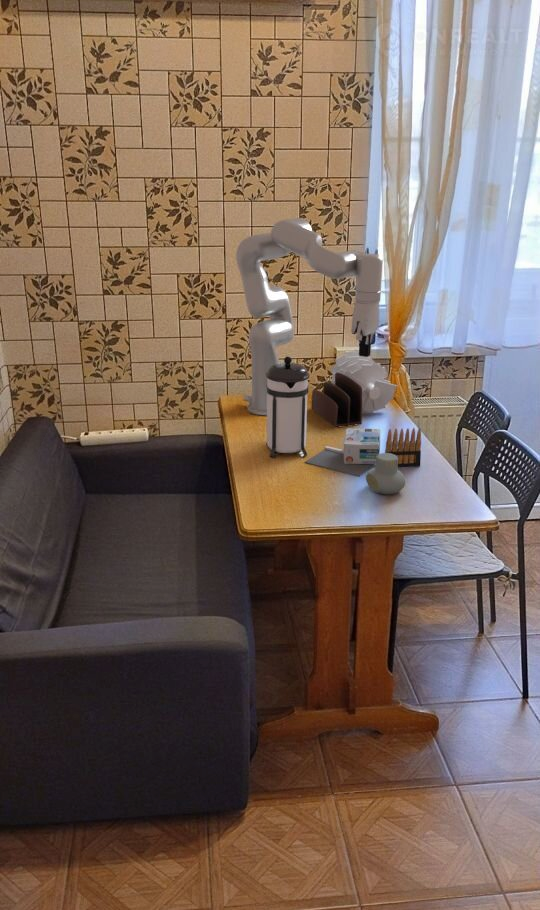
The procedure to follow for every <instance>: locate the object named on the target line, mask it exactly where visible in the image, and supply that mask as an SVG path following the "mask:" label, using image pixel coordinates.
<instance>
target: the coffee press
mask: <svg viewBox="0 0 540 910" xmlns="http://www.w3.org/2000/svg"><path fill="white" fill-rule="evenodd" d="M292 361H293V359H292V358H291V357H290V356H285V357H284V359H283V362H279V363H277V364H274V365H272V366H271V367H270V368H269V369H268V371H267V372H266V377H267V385H266V392H267V415H266V443H265V444H266V447H268V448H269V449H270V453H269V458H271V459H275V458H276V457H277V455H278V454H279V453H280V454H281V453H283V454H293V453H297V454H299V455H300V457H301V458H305V457H307V455H308V453H307V451H306V449H305V447H306V442H307V421H308V420H307V418H308V417H307V416H308V393H309V383H308V381H309V377H310V373H309V372H308V370H307V368H306V367H305V366H304V365H302V364H300V363H297V362H292Z"/></svg>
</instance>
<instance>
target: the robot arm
mask: <svg viewBox="0 0 540 910" xmlns="http://www.w3.org/2000/svg"><path fill="white" fill-rule="evenodd" d="M322 245H323V239H322V236H321V235H320V234H319V233H318V232H315V231H313V230H312V226H311V224H310V223H309V222H308V221H307V220H306V219H304V218H301V217H300V218H299V217H298V218H287V219H286V218H285V219H281V220H279V221H277V222H275V223H274V225H273V226H272V228H271V229H270V232H269V233H259V234H254V235H253V234H252V235H250V236H247V237H246V238H244V239H243V240H241V241H240V242H239V244H238V246H237V249H236V254H235V255H236V256H235V258H236V263H237V268H238V271H239V273H240V276H241V281H242V287H243V292H244V297H245V302H246V307H247V310H248V312H249V315H250V316H251V317H253V318H258V319H259V318H266V317H269V319H266V320H263V321H260V322H256V323H255V324H254V325H252V327H250V329H249V332H248V341H249V347H250V354H251V356H250V357H251V394H249V393H245V394H244V396H243V398H242V399H243V401H245V402H248V405H247V407H246V408H247V412H249V413H250V414H253V415H257V416H267V392H266V385H267V377H266V372H267V371H268V369H269V368H270V367H271V366H272V365H274V364H277V363H280V358H279V355H278V353H277V351H276V348H277V347H280V346H284V345H286V344H289V343H290V342H292V340H293V339H294V336H295V325H294V324H295V323H294V319H293V314H292V307H291V303H290V298H289V296H288V293H287V292H286V291H285V289H284V288H282V287H281V286H278V285H271V286H270V284H269V280H268V275H267V272H266V271H265V268H264V266H262V265H261V262H263V261H264V262H265V261H269V260H271V261H272V260H276V259H281V258H284V257H285V256H287V255H289V254H291V253H293V254H295V255H297V256H299V257H301V258H303V259H305V261H306V263H307V265H309V266H310V268H311V269H312V270H313V271H316V272H317V273H319V274H321V275H324V276H325V277H327V278H330V279H334V280H335V279H336V280H340V279H344V278H350V277H355V276H356V278H355V293H354V295H355V298H354V301H355V302H354V306H353V312H352V319H351V330H350V331H351V334H352V335H356V336H355V340H356V341H358V345H359V346H358V350H359V356H364V357H368V356H369V357H370V356H371V352H372V351H371V350H372V349H371V347H372V342H373V336H374V335H375V333H376V332H377V331H378V330H379V326H380V303H381V295H382V278H383V256H381V255H380V254H377V253H365V252H362V251H360V250H347V251H340V252H333V251H331V250H329V249H327V248H324V247H323V246H322Z"/></svg>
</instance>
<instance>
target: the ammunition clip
mask: <svg viewBox="0 0 540 910" xmlns="http://www.w3.org/2000/svg"><path fill="white" fill-rule="evenodd" d="M410 433H411V434H410ZM404 434H405V435H404ZM398 435H399V437H398ZM392 436H393V438H392ZM385 443H386V444H385V450H384V453H391V454H394V455H396V456H397V457H398V468H397V469H399V468H419V467H421V460H422V459H421V458H422V457H421V456H422V450H421V447H422V430H421V427H418V429H417V432H416V429H415V427H413V428H412V429H411V432H410V428H409V427H407V429H406V431H405V433H404V428H401V429H400V431H399V434H398V428H395V429H394V432H393V434H392V430H391V428H389V429H388V432H387V439H386V442H385Z"/></svg>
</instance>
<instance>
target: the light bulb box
mask: <svg viewBox="0 0 540 910" xmlns="http://www.w3.org/2000/svg"><path fill="white" fill-rule="evenodd" d="M343 450H344V464H375V465H376V456H377V455H379V454H381V429H380V428H350V427H347V428H346V429H345V436H344V442H343Z"/></svg>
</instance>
